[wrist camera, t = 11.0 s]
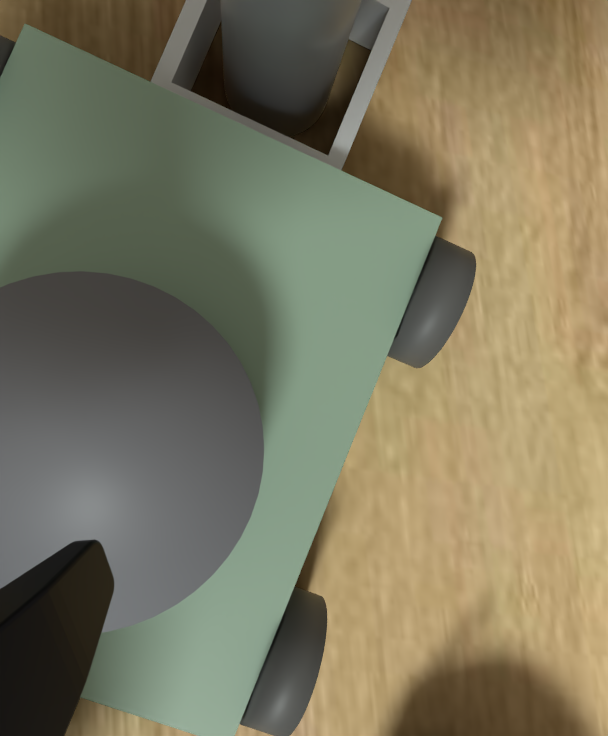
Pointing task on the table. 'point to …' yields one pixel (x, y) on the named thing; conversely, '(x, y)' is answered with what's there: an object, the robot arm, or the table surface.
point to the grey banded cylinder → (283, 58)
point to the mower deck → (242, 279)
